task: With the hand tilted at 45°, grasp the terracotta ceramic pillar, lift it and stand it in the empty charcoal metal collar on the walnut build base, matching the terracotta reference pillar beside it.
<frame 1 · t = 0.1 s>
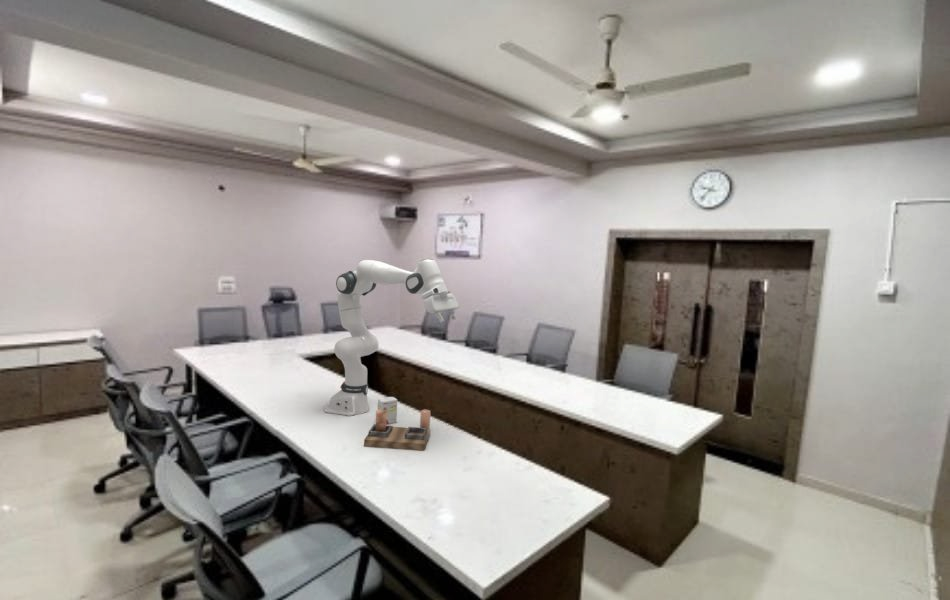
hand: (448, 320, 201), 54 cm above the table, tool tilted 30°, fingers open, 8 cm apart
build base: (398, 440, 201), on the table
terracotta pillar: (424, 431, 212), on the table
ink box: (386, 422, 221), on the table
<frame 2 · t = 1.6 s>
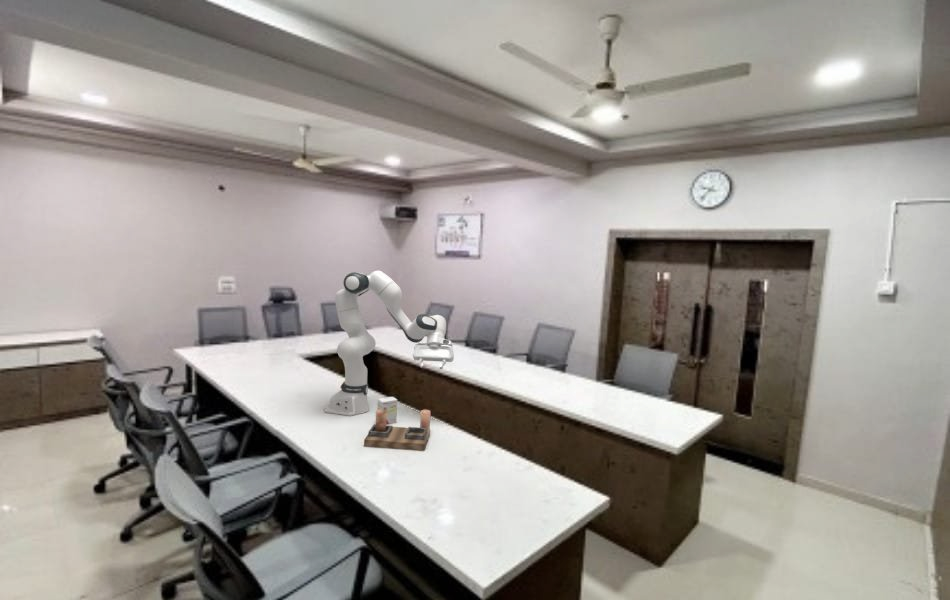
hand: (431, 367, 221), 28 cm above the table, tool tilted 45°, fingers open, 8 cm apart
nothing on the table moved.
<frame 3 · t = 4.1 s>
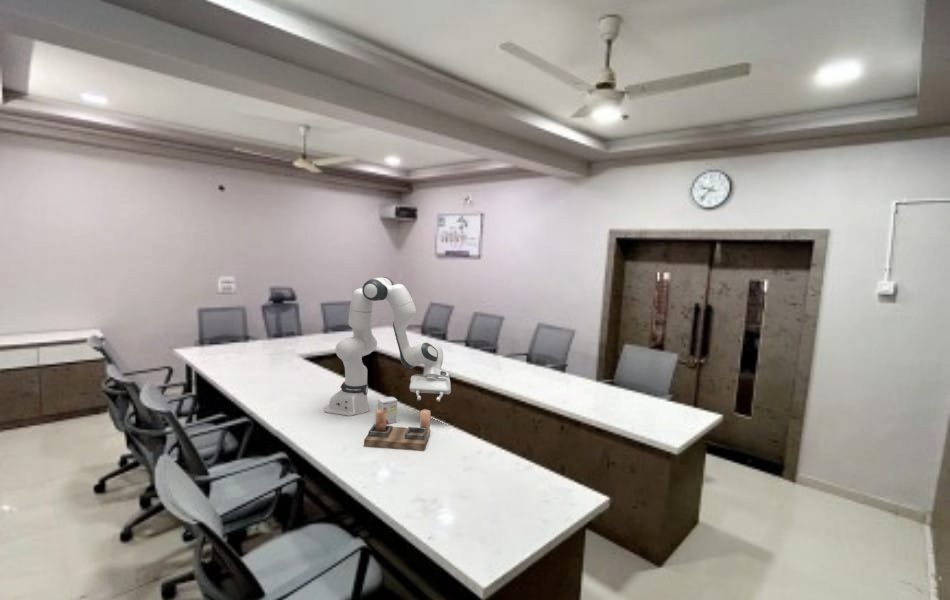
hand: (428, 400, 218), 13 cm above the table, tool tilted 45°, fingers open, 8 cm apart
nothing on the table moved.
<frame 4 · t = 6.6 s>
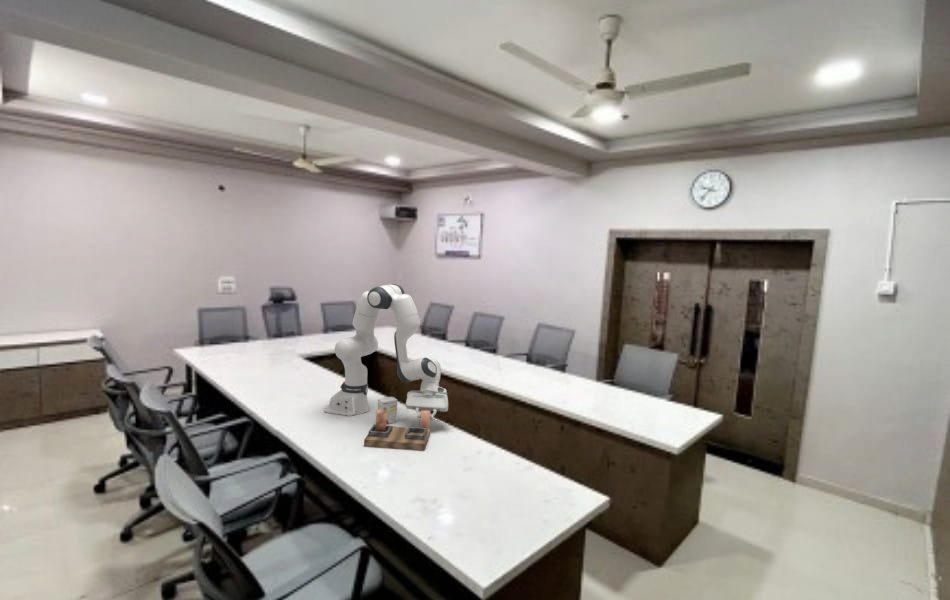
hand: (425, 418, 211), 7 cm above the table, tool tilted 45°, fingers closed on terracotta pillar, 5 cm apart
terracotta pillar: (424, 431, 212), on the table, touching gripper
everything else where it was.
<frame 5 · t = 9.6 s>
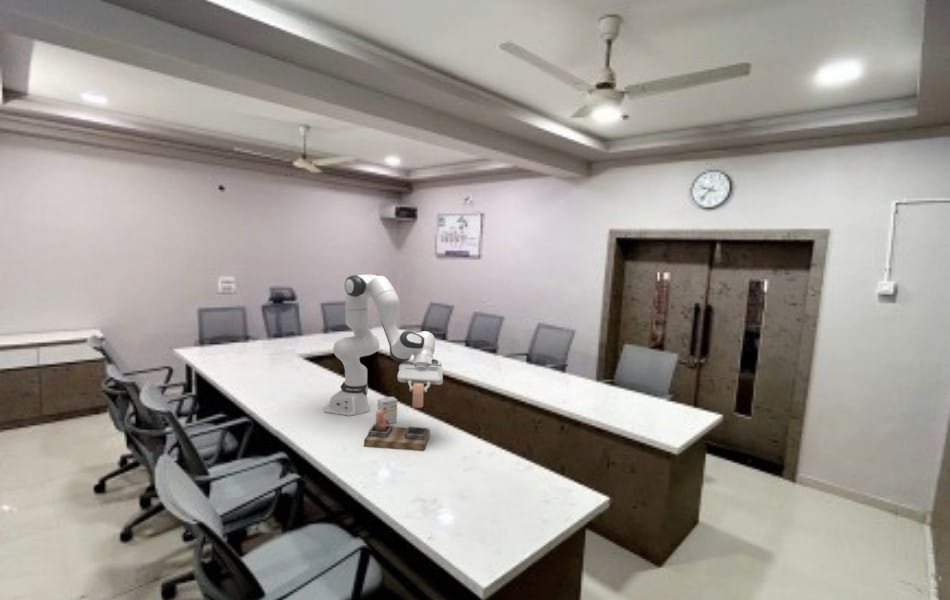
hand: (418, 391, 197), 23 cm above the table, tool tilted 45°, fingers closed on terracotta pillar, 5 cm apart
terracotta pillar: (417, 405, 199), point 17 cm above the table, touching gripper
everything else where it was.
when the fingers open (11 cm above the table, at t = 13.0 s): terracotta pillar stays where it is, resting on build base.
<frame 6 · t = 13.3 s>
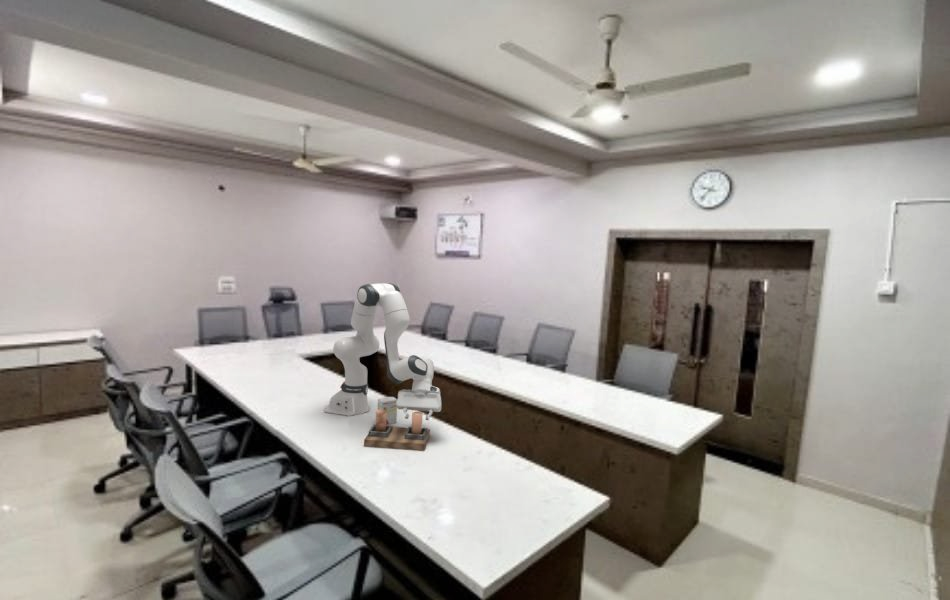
hand: (416, 418, 199), 11 cm above the table, tool tilted 45°, fingers open, 8 cm apart
terracotta pillar: (416, 435, 200), point 3 cm above the table, touching build base
everything else where it was.
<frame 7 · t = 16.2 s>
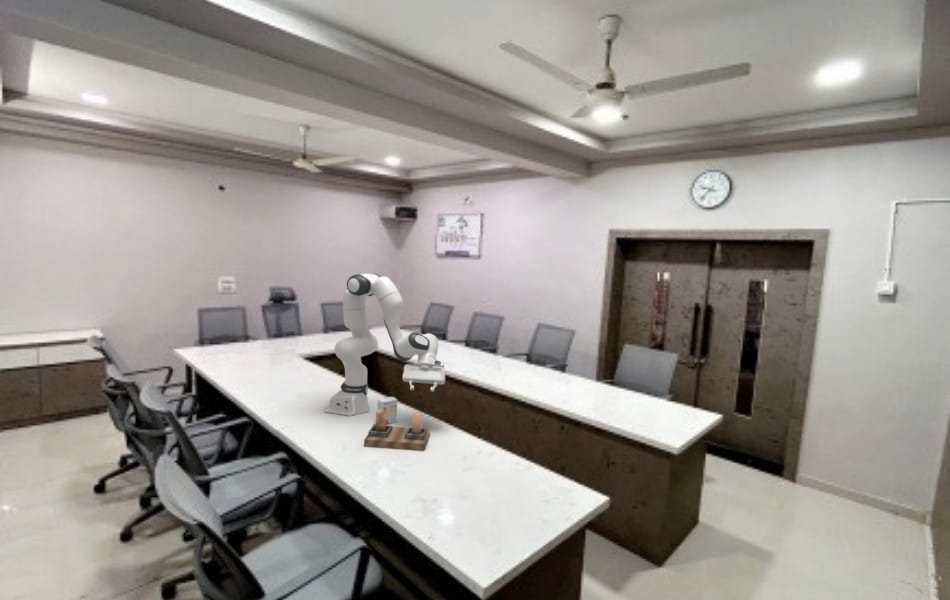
hand: (421, 390, 210), 20 cm above the table, tool tilted 45°, fingers open, 8 cm apart
nothing on the table moved.
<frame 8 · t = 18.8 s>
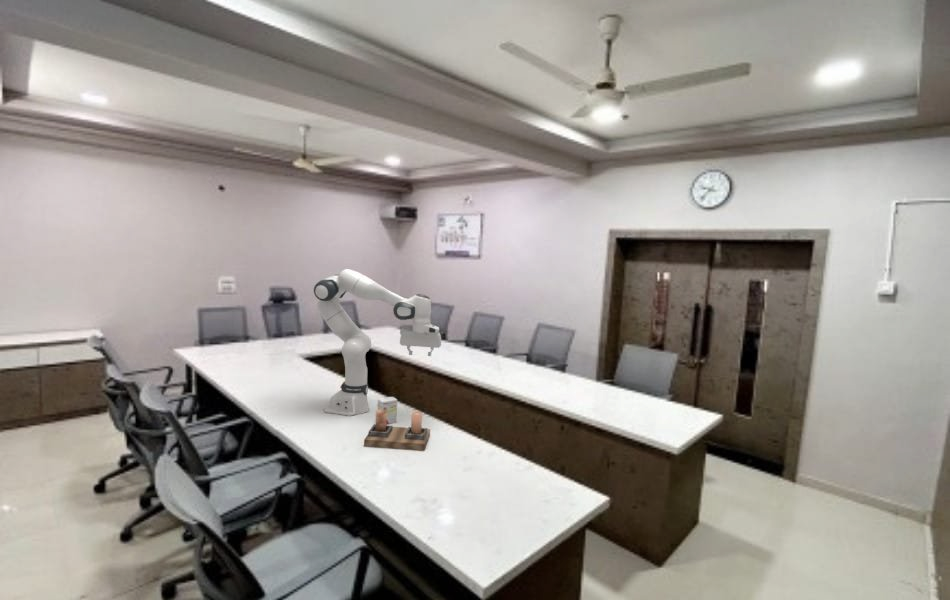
hand: (420, 355, 223), 33 cm above the table, tool pointing down, fingers open, 8 cm apart
nothing on the table moved.
at the end: terracotta pillar 0.1 cm from the target spot on the build base, point 3.0 cm above the build base's base; terracotta pillar tilted 1°; the gripper is holding nothing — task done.
